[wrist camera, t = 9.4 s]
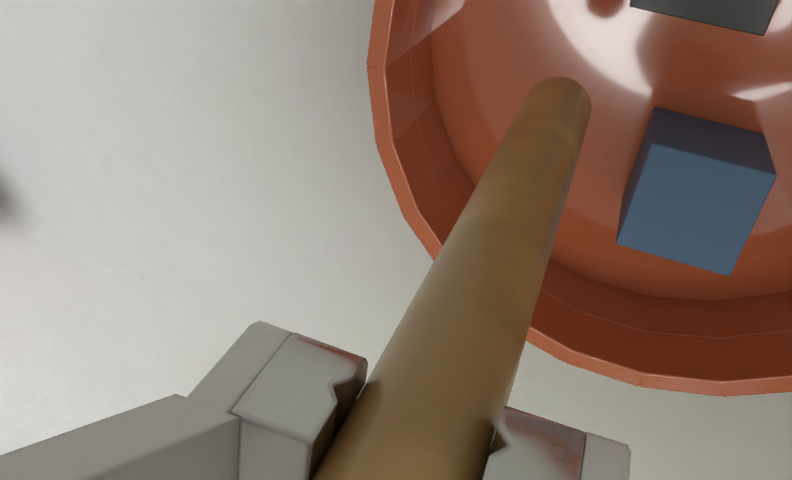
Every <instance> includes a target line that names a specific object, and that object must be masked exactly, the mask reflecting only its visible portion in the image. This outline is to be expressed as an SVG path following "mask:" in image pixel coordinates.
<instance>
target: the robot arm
mask: <svg viewBox="0 0 792 480" xmlns="http://www.w3.org/2000/svg"><path fill="white" fill-rule="evenodd" d="M367 367H368V362H367V360H366V358H363V357H360V356H358V355H355V354H352V353H349V352H347V351H344V350H341V349H339V348H336V347H333V346H330V345H328V344H325V343H322V342H319V341H317V340H314V339H311V338H308V337H306V336H303V335H300V334H297V333H292V332H290V331H287V330H284V329H282V328H279V327H276V326H273V325H271V324H268V323H265V322H262V321H258V322H256V323H254V324H252V325H250V326H249V327H248V328H247V329H246V330H245V332H244V333H243V334H242V335H241V336H240V337H239V338H238V340H237V341H236V342H235V343H234V344H233V345H232V346H231V348H230V349H229V350H228V351H227V352H226V353H225V354H224V356H223V357H222V358H221V359H220V360H219V361H218V362H217V363H216V365H215V366H214V367H213V368H212V369H211V370H210V371H209V373H208V374H207V375H206V376H205V377H204V378H203V379H202V381H201V382H200V383H199V384H198V385H197V386H196V387H195V389H194V390H193V391H192V392H191V393H190V394H189V395H188V397H187V398H186V397H183V396H180V395H178V394H174V395H171V396H168V397H166V398H163V399H160V400H157V401H154V402H151V403H148V404H146V405H143V406H140V407H137V408H134V409H131V410H129V411H126V412H123V413H120V414H117V415H114V416H111V417H109V418H106V419H103V420H100V421H97V422H94V423H92V424H89V425H86V426H83V427H80V428H77V429H74V430H72V431H69V432H66V433H63V434H60V435H57V436H55V437H52V438H49V439H46V440H43V441H40V442H37V443H35V444H32V445H29V446H26V447H23V448H20V449H17V450H15V451H12V452H9V453H6V454H3V455H0V480H311V479H312V478H313V476H314V474H315V472H316V470H317V469H318V467H319V465H320V463H321V462H322V460H323V458H324V456H325V455H326V453H327V451H328V449H329V448H330V446H331V444H332V442H333V440H334V439H335V437H336V435H337V433H338V431H339V430H340V428H341V426H342V424H343V423H344V421H345V419H346V417H347V416H348V414H349V412H350V410H351V408H352V407H353V405H354V403H355V401H356V399H357V397H358V396H359V394H360V392H361V390H362V388H363V387H364V385H365V382H366V374H367ZM630 457H631V451H630V449H629V447H628V445H626V444H623V443H620V442H617V441H614V440H611V439H608V438H604V437H601V436H598V435H595V434H592V433H589V432H585V433H584V432H583V431H580V430H577V429H574V428H571V427H568V426H565V425H562V424H559V423H556V422H553V421H550V420H547V419H544V418H541V417H538V416H535V415H532V414H529V413H526V412H523V411H520V410H517V409H514V408H511V407H508V406H505V405H504V407H503V411H502V414H501V417H500V420H499V423H498V426H497V430H496V433H495V436H494V439H493V443H492V446H491V449H490V452H489V456H488V459H487V462H486V465H485V471H484V474H483V477H482V480H629V474H630Z"/></svg>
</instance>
